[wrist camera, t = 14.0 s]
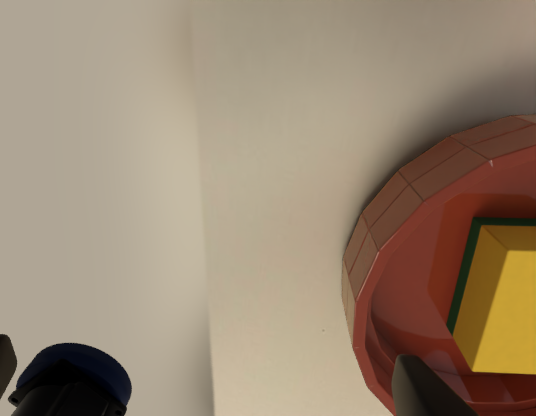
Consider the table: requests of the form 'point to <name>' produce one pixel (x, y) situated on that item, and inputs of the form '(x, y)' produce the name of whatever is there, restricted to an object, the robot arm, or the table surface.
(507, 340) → the sponge
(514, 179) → the wash bowl
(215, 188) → the table surface
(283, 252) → the table surface
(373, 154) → the table surface
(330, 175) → the table surface
